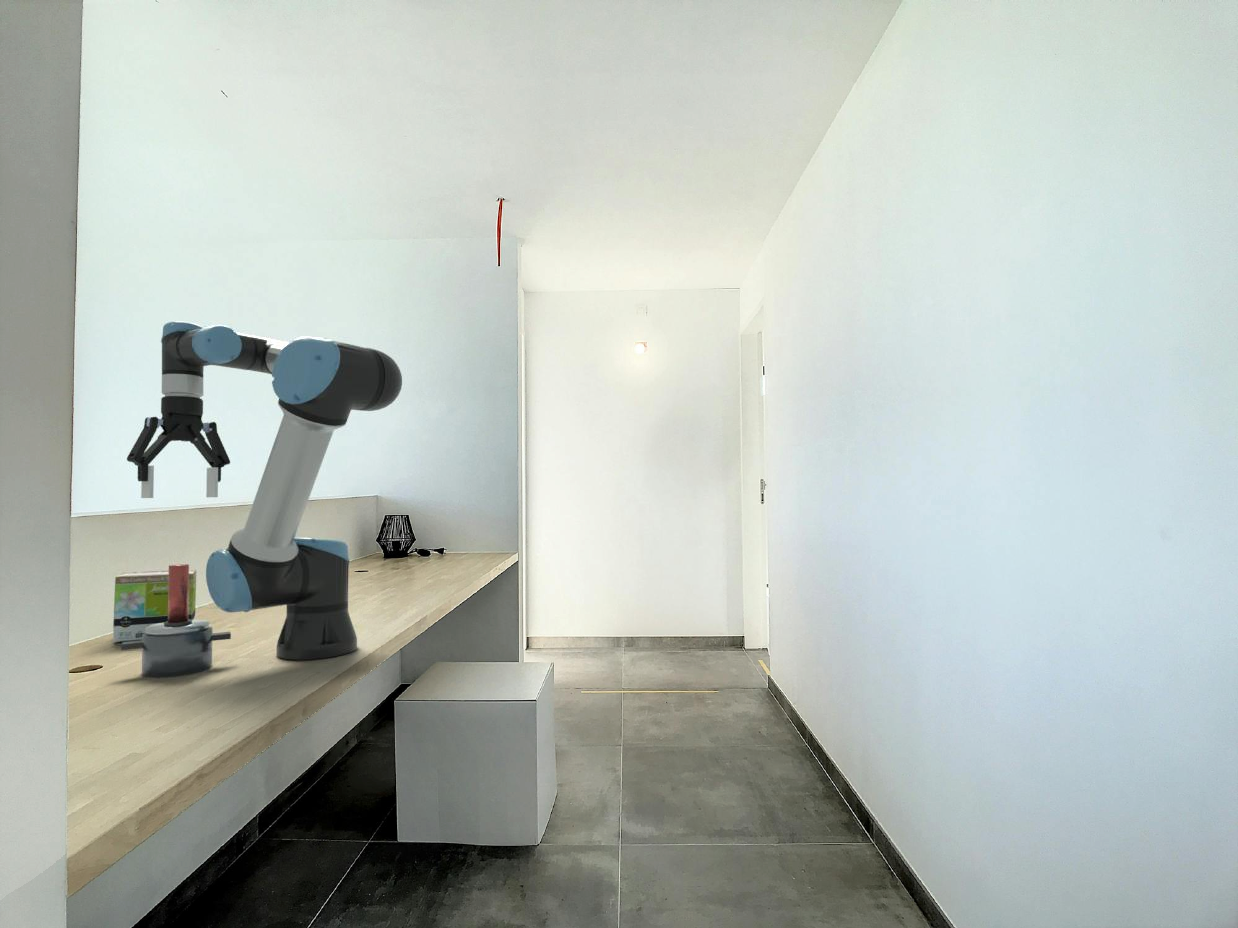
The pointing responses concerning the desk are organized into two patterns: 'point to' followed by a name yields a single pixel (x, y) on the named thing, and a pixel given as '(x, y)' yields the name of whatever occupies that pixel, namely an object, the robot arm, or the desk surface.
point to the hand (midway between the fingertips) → (181, 497)
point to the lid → (177, 607)
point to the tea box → (144, 602)
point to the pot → (176, 653)
